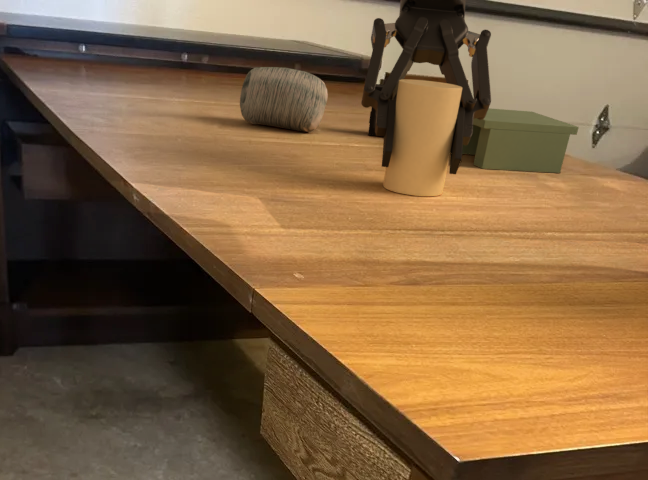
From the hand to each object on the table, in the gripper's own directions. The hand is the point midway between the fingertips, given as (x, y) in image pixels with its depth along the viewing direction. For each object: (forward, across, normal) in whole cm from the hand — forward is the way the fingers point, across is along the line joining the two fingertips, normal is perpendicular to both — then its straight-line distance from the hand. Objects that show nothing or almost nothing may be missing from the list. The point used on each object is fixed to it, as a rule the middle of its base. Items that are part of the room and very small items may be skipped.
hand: (421, 162), depth 91 cm
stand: (-20, -15, -25) cm, 35 cm away
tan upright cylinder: (0, 0, -5) cm, 5 cm away
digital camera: (-29, -2, -34) cm, 44 cm away
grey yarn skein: (-27, +17, -32) cm, 45 cm away
